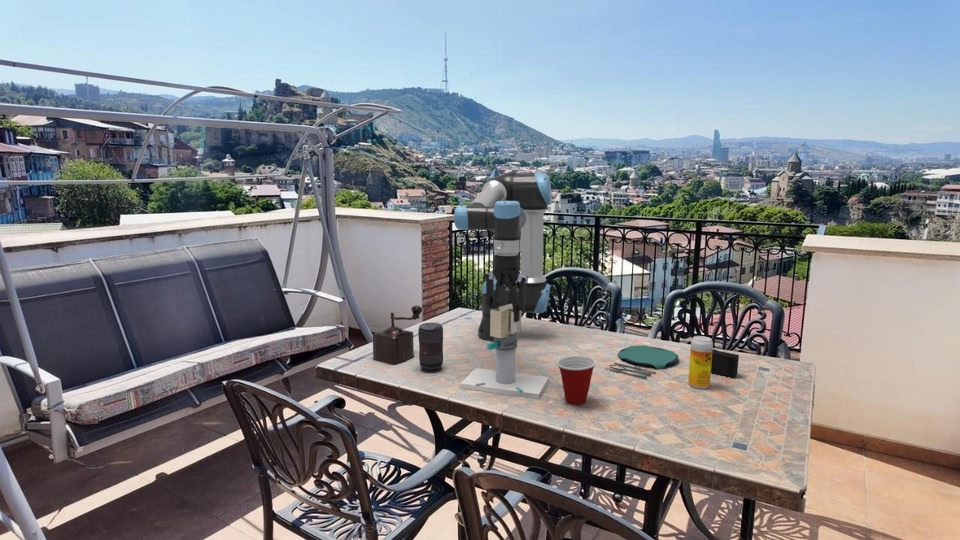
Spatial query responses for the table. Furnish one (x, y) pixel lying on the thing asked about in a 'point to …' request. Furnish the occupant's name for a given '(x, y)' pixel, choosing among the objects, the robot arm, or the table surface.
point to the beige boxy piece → (503, 328)
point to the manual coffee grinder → (395, 341)
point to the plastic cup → (576, 377)
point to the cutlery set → (644, 359)
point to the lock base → (505, 378)
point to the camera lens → (430, 347)
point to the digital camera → (724, 364)
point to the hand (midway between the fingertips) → (505, 330)
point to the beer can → (700, 362)
